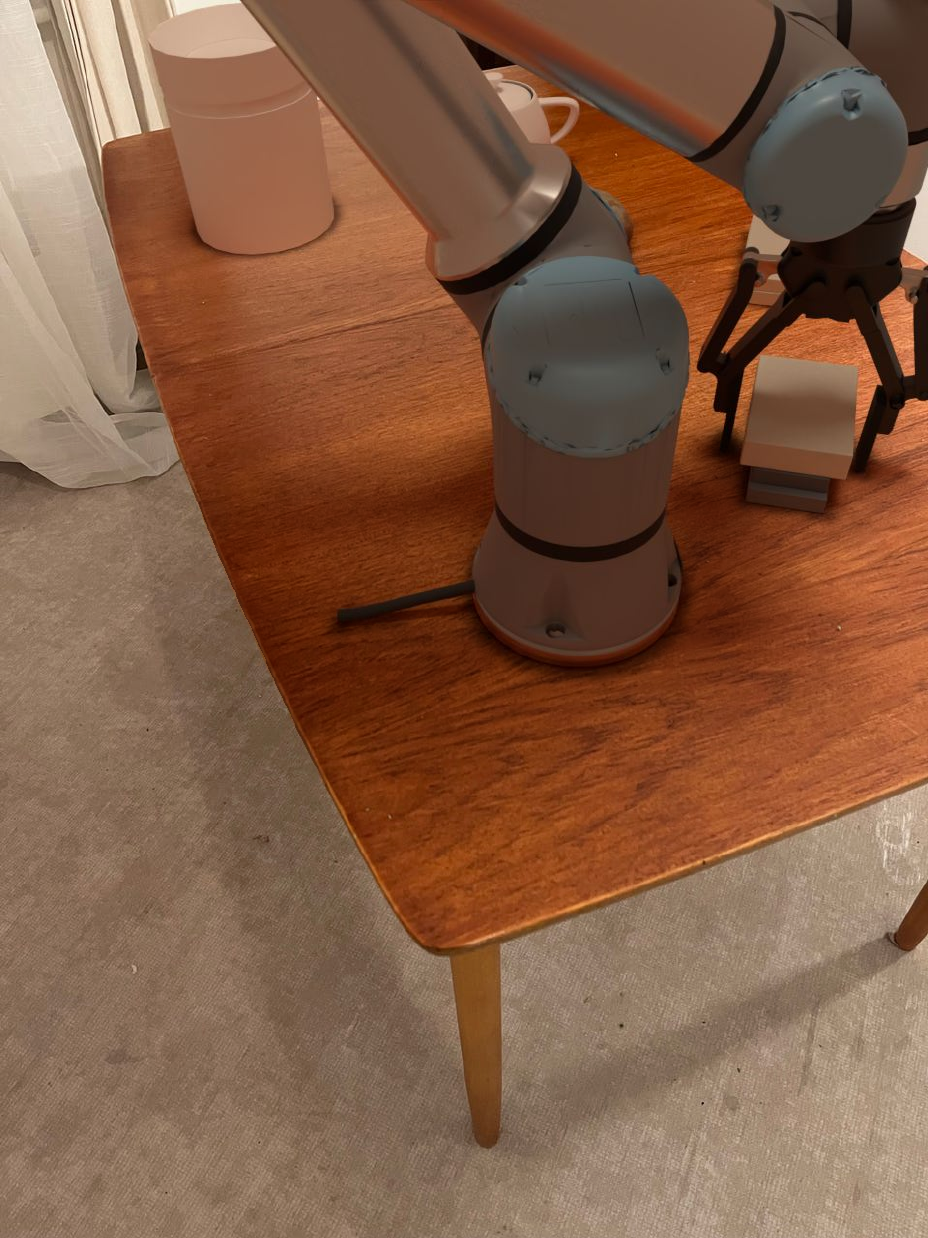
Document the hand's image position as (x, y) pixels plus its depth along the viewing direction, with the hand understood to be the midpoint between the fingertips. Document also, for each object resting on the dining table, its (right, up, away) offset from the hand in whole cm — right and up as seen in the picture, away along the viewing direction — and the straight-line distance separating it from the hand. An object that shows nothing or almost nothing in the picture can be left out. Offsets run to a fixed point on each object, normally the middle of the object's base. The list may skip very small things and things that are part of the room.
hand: (792, 450), depth 82 cm
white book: (0, +2, -2) cm, 3 cm away
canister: (-51, +32, +32) cm, 68 cm away
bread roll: (-14, +26, +24) cm, 38 cm away
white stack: (+4, +22, +20) cm, 30 cm away
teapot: (-24, +41, +38) cm, 61 cm away
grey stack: (0, 0, 0) cm, 0 cm away
